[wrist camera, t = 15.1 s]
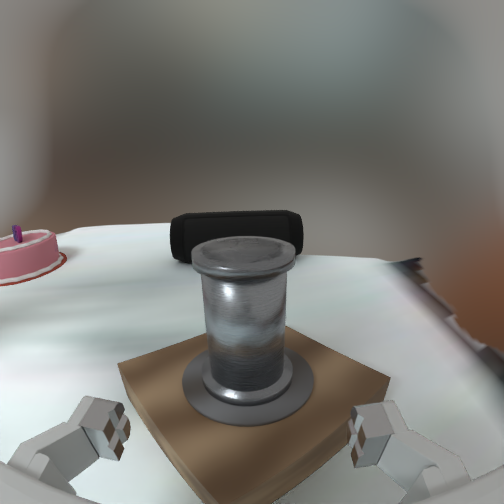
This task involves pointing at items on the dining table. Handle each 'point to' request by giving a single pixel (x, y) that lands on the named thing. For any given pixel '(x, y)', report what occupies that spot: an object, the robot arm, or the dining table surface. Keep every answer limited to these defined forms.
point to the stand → (249, 418)
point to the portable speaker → (233, 229)
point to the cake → (28, 255)
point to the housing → (245, 317)
